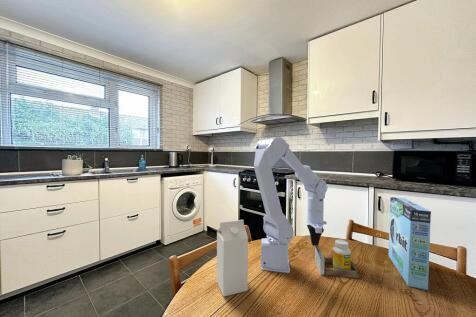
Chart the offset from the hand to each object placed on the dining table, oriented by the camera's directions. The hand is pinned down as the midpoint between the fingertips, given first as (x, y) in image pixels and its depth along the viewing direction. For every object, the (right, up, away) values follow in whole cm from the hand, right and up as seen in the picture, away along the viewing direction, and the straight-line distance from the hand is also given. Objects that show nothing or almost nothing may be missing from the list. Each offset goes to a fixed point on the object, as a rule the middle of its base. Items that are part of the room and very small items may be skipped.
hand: (314, 245), depth 77 cm
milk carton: (-31, -4, -19) cm, 37 cm away
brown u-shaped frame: (+5, -4, -10) cm, 12 cm away
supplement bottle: (+5, -4, -10) cm, 12 cm away
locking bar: (-2, -4, -8) cm, 9 cm away
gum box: (+27, -5, -10) cm, 29 cm away
